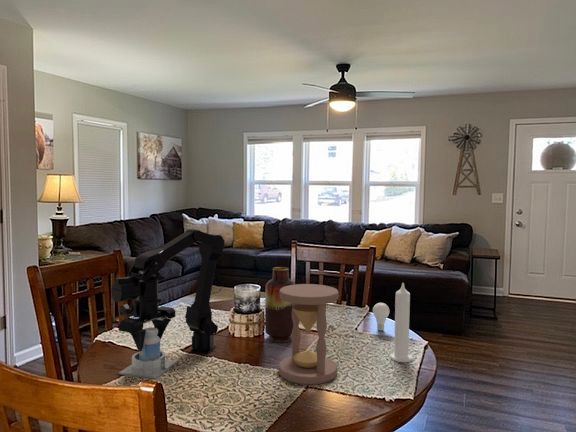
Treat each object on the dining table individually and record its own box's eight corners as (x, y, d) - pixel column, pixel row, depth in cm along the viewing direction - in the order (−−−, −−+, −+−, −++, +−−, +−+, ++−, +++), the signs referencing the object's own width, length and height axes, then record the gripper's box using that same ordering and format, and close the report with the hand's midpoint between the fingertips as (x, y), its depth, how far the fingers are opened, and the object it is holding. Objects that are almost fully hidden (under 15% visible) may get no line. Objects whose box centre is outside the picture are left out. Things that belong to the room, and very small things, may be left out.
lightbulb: (371, 332, 171) (372, 304, 171) (373, 327, 177) (373, 300, 177) (388, 334, 169) (389, 305, 169) (389, 329, 175) (390, 301, 175)
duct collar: (176, 363, 139) (176, 350, 139) (155, 379, 128) (155, 365, 128) (142, 359, 142) (142, 346, 142) (119, 374, 131) (119, 360, 131)
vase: (268, 345, 156) (269, 271, 154) (262, 335, 167) (262, 266, 165) (299, 342, 159) (299, 270, 157) (290, 332, 170) (291, 265, 168)
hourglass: (271, 364, 139) (271, 285, 137) (321, 357, 145) (322, 282, 143) (291, 388, 122) (292, 299, 121) (347, 379, 129) (349, 294, 127)
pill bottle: (163, 363, 138) (164, 327, 137) (153, 370, 132) (154, 333, 131) (145, 361, 139) (146, 326, 138) (134, 368, 133) (135, 331, 132)
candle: (413, 363, 141) (415, 285, 140) (390, 361, 142) (392, 284, 141) (411, 355, 148) (413, 281, 146) (389, 353, 149) (391, 279, 148)
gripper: (149, 287, 146) (149, 333, 147) (103, 299, 129) (104, 352, 130) (176, 290, 141) (176, 338, 142) (133, 304, 124) (133, 359, 125)
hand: (148, 346), depth 135 cm, fingers open, 7 cm apart
